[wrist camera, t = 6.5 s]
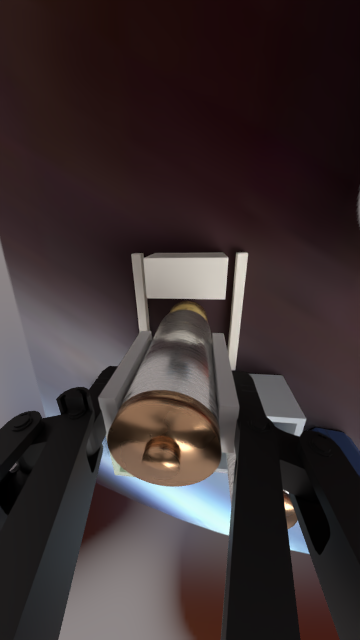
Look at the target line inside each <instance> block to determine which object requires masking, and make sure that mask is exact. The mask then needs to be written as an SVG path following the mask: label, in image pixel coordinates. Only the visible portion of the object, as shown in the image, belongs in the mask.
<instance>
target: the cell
mask: <svg viewBox="0 0 360 640" xmlns="http://www.w3.org/2000/svg"><path fill="white" fill-rule="evenodd" d="M107 443H108V448H109V451H110V453H111V455H112V457H113V458H114V460H115V461H116V462H117V463H118V464H119V465H120V466H121V467H122V468H123V469H124V470H125V471H127V472H128V473H130V474H131V475H133V476H135V477H137V478H139V479H141V480H143V481H146V482H149V483H152V484H157V485H162V486H186V485H191V484H195V483H198V482H200V481H202V480H204V479H206V478H207V477H209V476H210V475H211V474H213V473H214V471H215V470H216V469H217V467H218V466H219V464H220V461H221V456H222V450H221V439H220V427H219V420H218V408H217V397H216V386H215V374H214V363H213V352H212V338H211V330H210V326H209V324H208V322H207V321H206V320H205V318H204V317H202V316H201V315H200V314H198V313H196V312H194V311H191V310H176V311H173V312H171V313H169V314H168V315H167V316H165V317H164V319H163V320H162V321H161V323H160V325H159V327H158V329H157V332H156V334H155V336H154V338H153V340H152V342H151V344H150V346H149V348H148V350H147V352H146V354H145V356H144V358H143V361H142V363H141V365H140V367H139V369H138V371H137V373H136V375H135V377H134V379H133V381H132V383H131V385H130V387H129V389H128V392H127V394H126V396H125V398H124V400H123V402H122V404H121V406H120V408H119V410H118V412H117V414H116V416H115V418H114V421H113V423H112V425H111V427H110V429H109V431H108V436H107Z"/></svg>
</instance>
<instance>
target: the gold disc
mask: <svg viewBox="0 0 360 640" xmlns="http://www.w3.org/2000/svg"><path fill="white" fill-rule="evenodd" d="M176 310H191V311H194V312H196V313H198V314H200V315H201V316H202V317H204V318H205V320H206V321H207V315H206V312H205V310H204V309H203V307H202V306H200V305H199V304H197V303H195V302H192V301H182V302H179V303H177V304H176V305H175V306H174V307H173V308H172V309H171V311H170V313H171V312H173V311H176Z"/></svg>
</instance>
